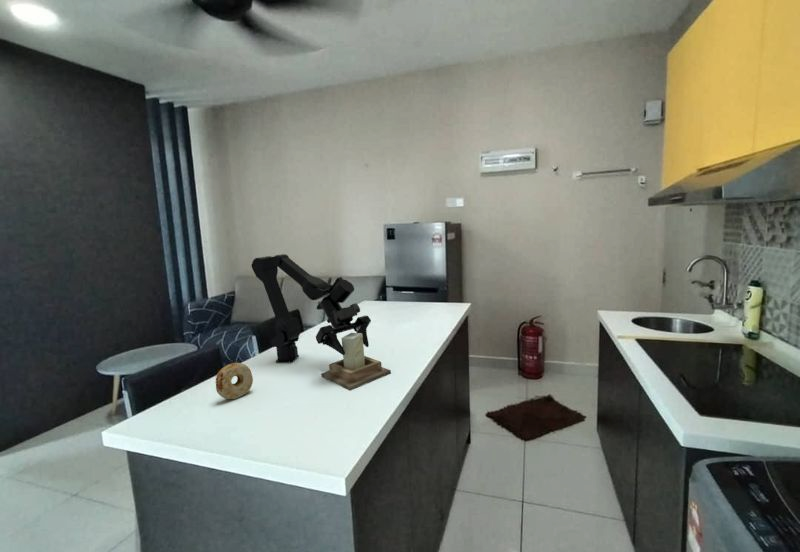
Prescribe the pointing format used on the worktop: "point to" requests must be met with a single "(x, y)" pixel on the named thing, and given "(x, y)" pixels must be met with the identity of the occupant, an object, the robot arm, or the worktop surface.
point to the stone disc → (237, 389)
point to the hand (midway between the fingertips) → (356, 350)
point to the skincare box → (353, 351)
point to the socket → (355, 373)
